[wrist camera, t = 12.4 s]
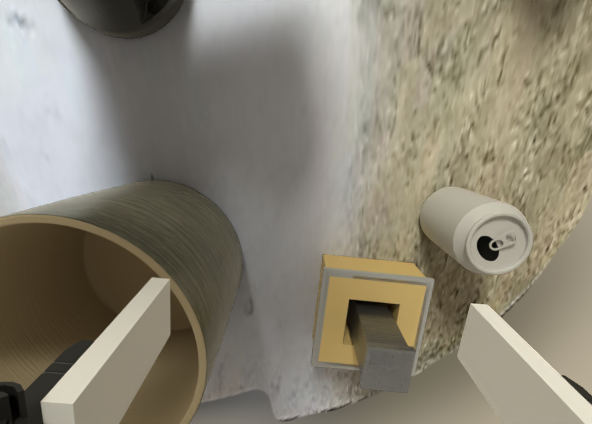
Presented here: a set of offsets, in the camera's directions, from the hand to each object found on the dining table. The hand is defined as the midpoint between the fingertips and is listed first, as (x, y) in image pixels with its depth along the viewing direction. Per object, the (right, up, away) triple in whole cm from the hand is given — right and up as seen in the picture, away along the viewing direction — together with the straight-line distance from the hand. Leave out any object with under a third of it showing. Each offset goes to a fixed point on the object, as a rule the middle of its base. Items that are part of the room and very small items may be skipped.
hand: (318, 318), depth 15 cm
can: (+18, +4, +29) cm, 34 cm away
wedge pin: (+8, -7, +31) cm, 33 cm away
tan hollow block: (+8, -7, +31) cm, 33 cm away
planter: (-19, -2, +30) cm, 36 cm away
